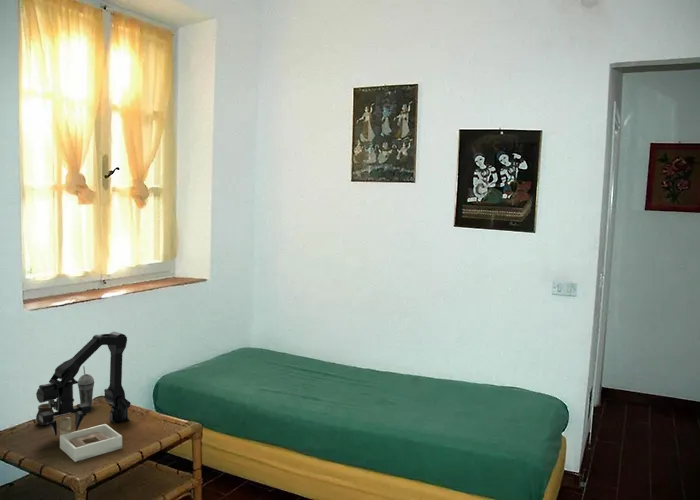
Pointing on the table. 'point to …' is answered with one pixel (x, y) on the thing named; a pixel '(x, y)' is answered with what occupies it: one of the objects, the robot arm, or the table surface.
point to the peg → (65, 425)
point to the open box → (90, 449)
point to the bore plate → (88, 439)
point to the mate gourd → (43, 409)
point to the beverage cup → (86, 388)
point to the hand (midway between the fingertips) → (65, 432)
